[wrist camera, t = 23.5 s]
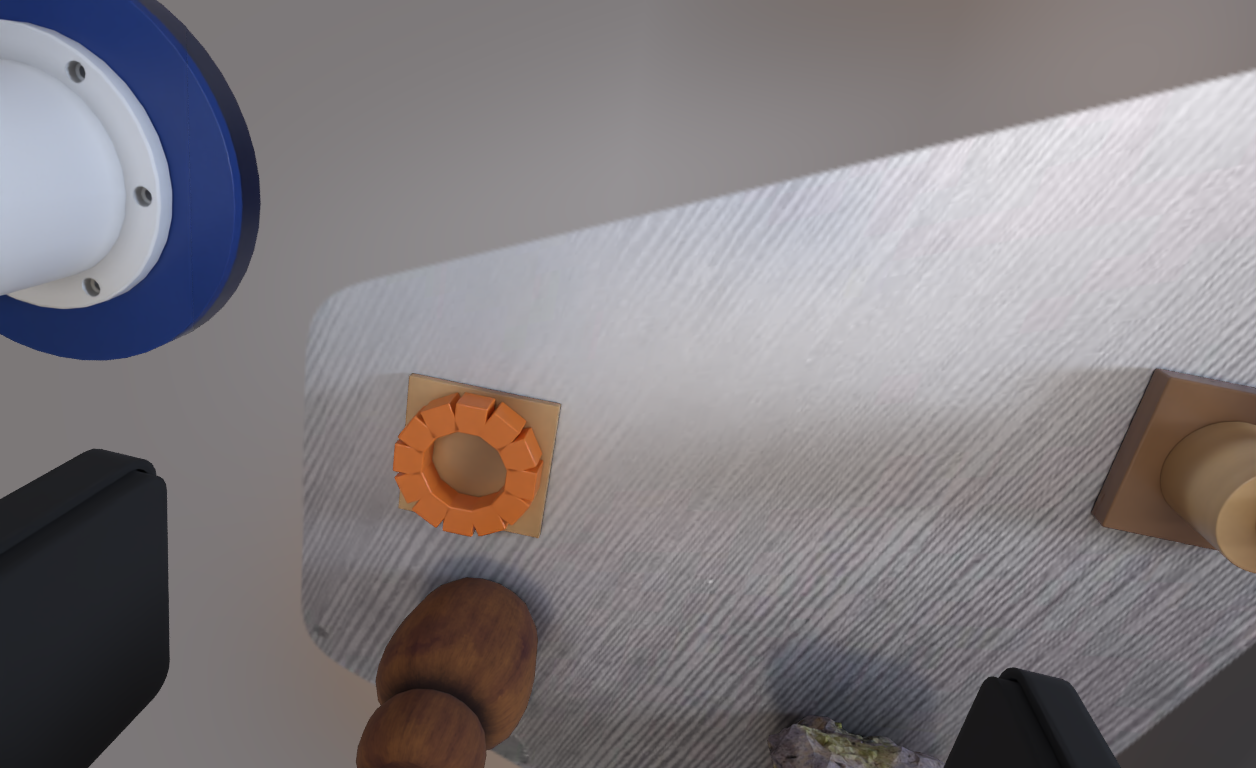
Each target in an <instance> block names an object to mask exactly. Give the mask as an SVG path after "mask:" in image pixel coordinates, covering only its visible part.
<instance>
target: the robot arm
mask: <svg viewBox="0 0 1256 768" xmlns="http://www.w3.org/2000/svg"><path fill="white" fill-rule="evenodd" d="M171 219H172V186H171V180H170V174H169V168H168V163H167V160H166V157H165V154H164V151H163V148H162V145H161V142H160V139H159V136H158V134H157V132H156V130H155V128H154V126H153V125H152V123H151V121H150V119H149V117H148V115H147V113H146V111H145V109H144V108H143V106H142V105H141V104H140V102H139V101H138V99H137V98H136V97H135V95H134V94H133V93H132V91H131V90H130V88H129V87H128V86H127V84H126V83H125V82H124V81H123V80H122V79H121V78H120V77H119V76H118V75H117V74H116V73H115V72H114V71H113V70H112V69H111V68H110V67H109V66H108V65H107V64H106V63H105V62H104V61H103V60H101V59H100V58H99V57H97V56H96V55H95V54H93V53H92V52H91V51H89V50H88V49H87V48H85V47H84V46H83V45H81V44H80V43H78V42H76V41H74V40H72V39H70V38H68V37H66V36H64V35H62V34H60V33H58V32H56V31H54V30H51V29H48V28H44V27H41V26H38V25H34V24H31V23H28V22H18V21H10V20H3V19H0V296H2V295H5V294H6V295H8V296H10V297H12V298H14V299H17V300H20V301H23V302H27V303H30V304H33V305H37V306H40V307H49V308H58V309H71V308H82V307H88V306H91V305H95V304H98V303H101V302H105V301H108V300H110V299H113V298H115V297H117V296H119V295H121V294H124V293H126V292H128V291H129V290H130V289H132V288H133V287H134V286H136V285H137V284H138V283H139V282H141V281H142V280H143V279H144V278H145V277H146V276H147V274H148V273H149V272H150V271H151V269H152V268H153V267H154V265H155V264H156V263H157V261H158V259H159V257H160V255H161V253H162V250H163V248H164V246H165V244H166V242H167V238H168V233H169V228H170V224H171ZM167 534H168V532H167V489H166V483H165V482H164V480H163V479H162V478H161V477H159V476H156V471H155V468H154V467H153V465H152V463H150V462H149V461H147V460H145V459H140V458H136V457H132V456H128V455H124V454H119V453H115V452H111V451H107V450H103V449H91V450H89V451H86V452H84V453H82V454H80V455H78V456H77V457H75V458H73V459H71V460H69V461H68V462H66V463H64V464H62V465H60V466H59V467H57V468H55V469H53V470H51V471H50V472H48V473H46V474H44V475H43V476H41V477H39V478H37V479H36V480H34V481H32V482H30V483H28V484H27V485H25V486H23V487H21V488H19V489H18V490H16V491H14V492H12V493H10V494H9V495H7V496H5V497H3V498H2V499H0V768H88V767H89V766H90V765H91V764H92V763H93V762H94V761H95V760H96V759H97V758H98V757H99V755H100V754H101V753H102V752H103V751H104V750H105V749H106V748H107V747H108V746H109V745H110V744H111V743H112V742H113V741H114V740H115V739H116V738H117V736H118V735H119V734H120V733H121V732H122V731H123V730H124V729H125V728H126V727H127V726H128V725H129V724H130V723H131V722H132V721H133V719H134V718H135V717H136V716H137V715H138V714H139V713H140V712H141V711H142V710H143V709H144V708H145V707H146V706H147V705H148V704H149V702H150V701H151V700H152V699H153V698H154V697H155V696H156V695H157V693H158V692H159V690H160V689H161V687H162V685H163V683H164V681H165V679H166V676H167V673H168V669H169V662H170V661H169V660H170V657H169V594H168V536H167ZM943 768H1121V767H1120V765H1119V763H1118V762H1117V760H1116V758H1115V757H1114V755H1113V753H1112V752H1111V750H1110V748H1109V746H1108V745H1107V743H1106V741H1105V740H1104V738H1103V736H1102V735H1101V733H1100V731H1099V729H1098V728H1097V726H1096V724H1095V723H1094V721H1093V719H1092V718H1091V716H1090V714H1089V712H1088V711H1087V709H1086V707H1085V706H1084V704H1083V702H1082V701H1081V699H1080V697H1079V695H1078V694H1077V692H1076V690H1075V689H1074V688H1073V687H1072V685H1071V684H1070V683H1069V682H1067V681H1065V680H1063V679H1060V678H1056V677H1051V676H1047V675H1043V674H1039V673H1035V672H1031V671H1026V670H1022V669H1018V668H1007V669H1006V670H1005V671H1004V672H1002V674H1001V675H1000V677H999V678H997V677H988V678H987V679H986V680H985V681H984V682H983V684H982V686H981V687H980V690H979V692H978V694H977V696H976V698H975V700H974V702H973V705H972V707H971V709H970V711H969V713H968V715H967V718H966V720H965V722H964V724H963V726H962V728H961V731H960V733H959V735H958V737H957V739H956V741H955V744H954V746H953V748H952V750H951V752H950V754H949V757H948V759H947V761H946V763H945V765H944V767H943Z"/></svg>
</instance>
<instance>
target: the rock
mask: <svg viewBox="0 0 1256 768" xmlns="http://www.w3.org/2000/svg"><path fill="white" fill-rule="evenodd" d="M767 741H768V746H769V749H770V752H771V754H770V755H771V758H772V761H773V768H943V767H944V765H945V763H943V762H942V761H940V760H939V759H937V758H934V757H932V756H929V755H926V754H923V753H920V752H912V751H910V750H908V749H906V748H904V747H903V746H897V745H896V744H895V743H894V742H893V741H892V740H890V739H889V738H888V737H882V736H868V737H866V736H865V737H861V736H860V735H854V734H850V733H848V732H847V731H845V730H844V729H842V725H841V723H836V722H835V721H833V720H832V719H830V718H828V717H818V716H814V715H809V716H807V717H805V718H803V719H802V720H801V721H800V722H798V723H797V724H793V725H792V726H791V727H789V728H784V729H783V730H782V731H781V732H780V733H779V734H774V735H769V738H768V740H767Z"/></svg>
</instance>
